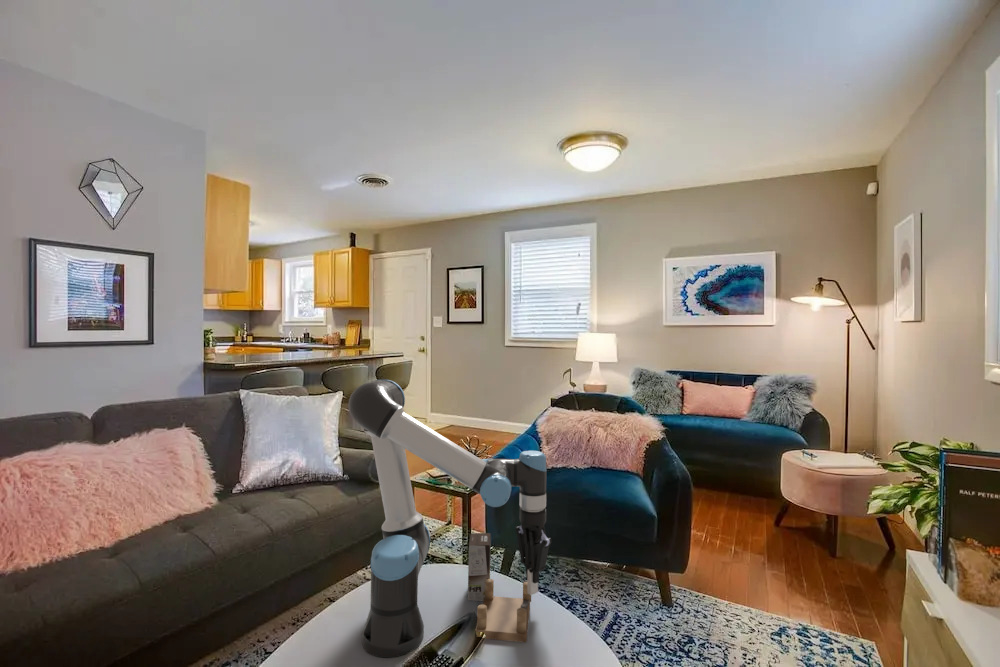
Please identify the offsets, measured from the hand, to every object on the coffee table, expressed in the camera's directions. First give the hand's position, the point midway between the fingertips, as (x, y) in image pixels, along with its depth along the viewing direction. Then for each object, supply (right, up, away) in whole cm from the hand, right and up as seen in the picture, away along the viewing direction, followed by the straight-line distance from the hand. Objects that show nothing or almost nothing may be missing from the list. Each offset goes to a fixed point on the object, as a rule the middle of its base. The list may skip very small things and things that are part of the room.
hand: (532, 592), depth 129 cm
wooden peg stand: (-8, -5, -5) cm, 11 cm away
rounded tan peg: (-2, -3, 0) cm, 3 cm away
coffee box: (-15, -6, +9) cm, 19 cm away
